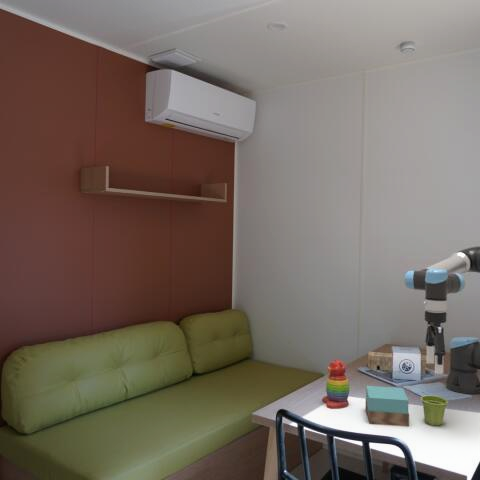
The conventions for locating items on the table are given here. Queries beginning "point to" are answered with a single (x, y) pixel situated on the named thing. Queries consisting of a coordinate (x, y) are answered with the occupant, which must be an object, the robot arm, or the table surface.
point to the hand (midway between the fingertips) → (434, 368)
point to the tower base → (387, 418)
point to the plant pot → (434, 409)
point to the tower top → (386, 399)
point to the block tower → (387, 361)
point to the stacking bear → (337, 386)
